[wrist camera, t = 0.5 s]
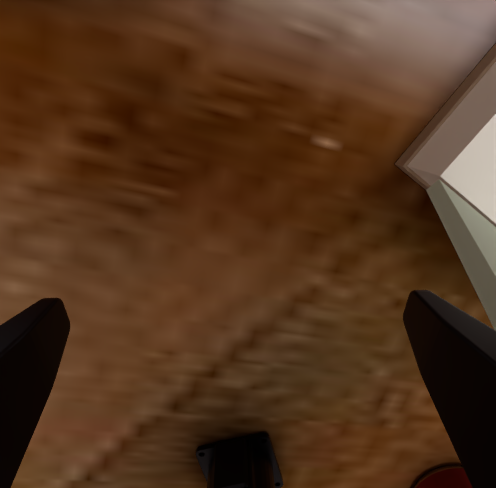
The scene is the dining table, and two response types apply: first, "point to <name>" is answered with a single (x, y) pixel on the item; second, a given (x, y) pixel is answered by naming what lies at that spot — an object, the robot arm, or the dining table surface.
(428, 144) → the box
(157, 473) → the dining table surface
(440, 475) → the soda can
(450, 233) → the lid
